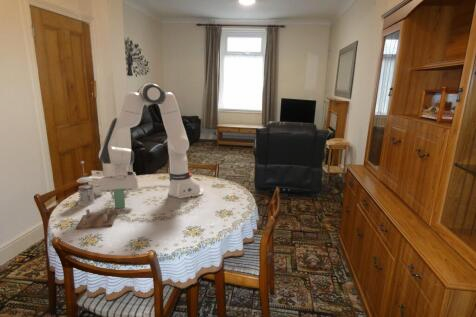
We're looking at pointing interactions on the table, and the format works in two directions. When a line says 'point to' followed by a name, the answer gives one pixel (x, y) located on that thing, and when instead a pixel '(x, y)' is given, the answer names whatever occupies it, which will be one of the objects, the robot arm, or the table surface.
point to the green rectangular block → (119, 198)
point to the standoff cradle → (96, 220)
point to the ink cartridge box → (96, 182)
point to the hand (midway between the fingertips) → (119, 197)
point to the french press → (85, 191)
